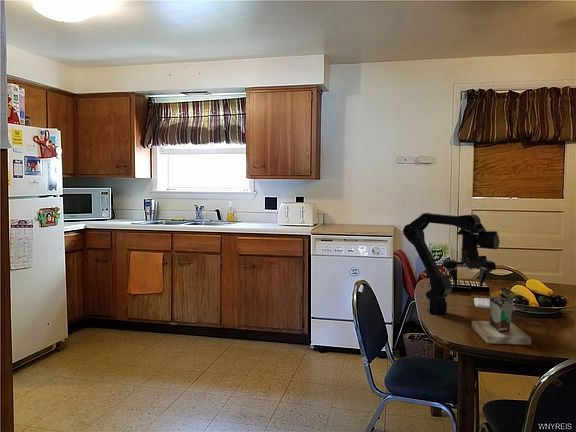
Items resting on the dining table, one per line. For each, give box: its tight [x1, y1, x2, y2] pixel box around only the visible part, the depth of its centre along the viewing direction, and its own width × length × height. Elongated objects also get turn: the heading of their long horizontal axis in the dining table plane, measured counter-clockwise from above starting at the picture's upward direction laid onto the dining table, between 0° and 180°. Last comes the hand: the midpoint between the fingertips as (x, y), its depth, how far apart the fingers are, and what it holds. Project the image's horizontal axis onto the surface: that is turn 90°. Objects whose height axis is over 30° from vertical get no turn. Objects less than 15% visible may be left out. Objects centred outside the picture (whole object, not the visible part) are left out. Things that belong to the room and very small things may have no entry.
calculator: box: [473, 297, 490, 309], centre depth 208 cm, size 13×20×2 cm, turn 72°
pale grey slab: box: [471, 320, 532, 346], centre depth 167 cm, size 14×18×3 cm
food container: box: [489, 296, 515, 333], centre depth 167 cm, size 12×6×10 cm, turn 176°
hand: (468, 286), depth 186 cm, fingers open, 9 cm apart
